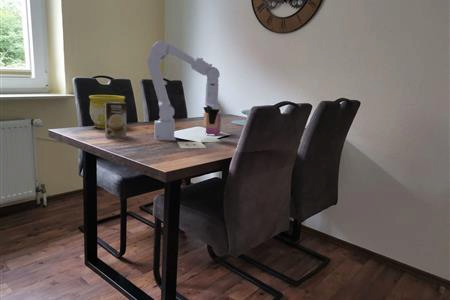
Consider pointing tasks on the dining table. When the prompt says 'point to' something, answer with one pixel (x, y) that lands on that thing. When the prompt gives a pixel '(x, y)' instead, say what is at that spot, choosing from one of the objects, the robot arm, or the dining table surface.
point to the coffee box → (115, 119)
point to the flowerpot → (101, 107)
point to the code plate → (191, 145)
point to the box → (215, 129)
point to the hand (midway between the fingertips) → (210, 122)
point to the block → (206, 121)
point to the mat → (210, 140)
